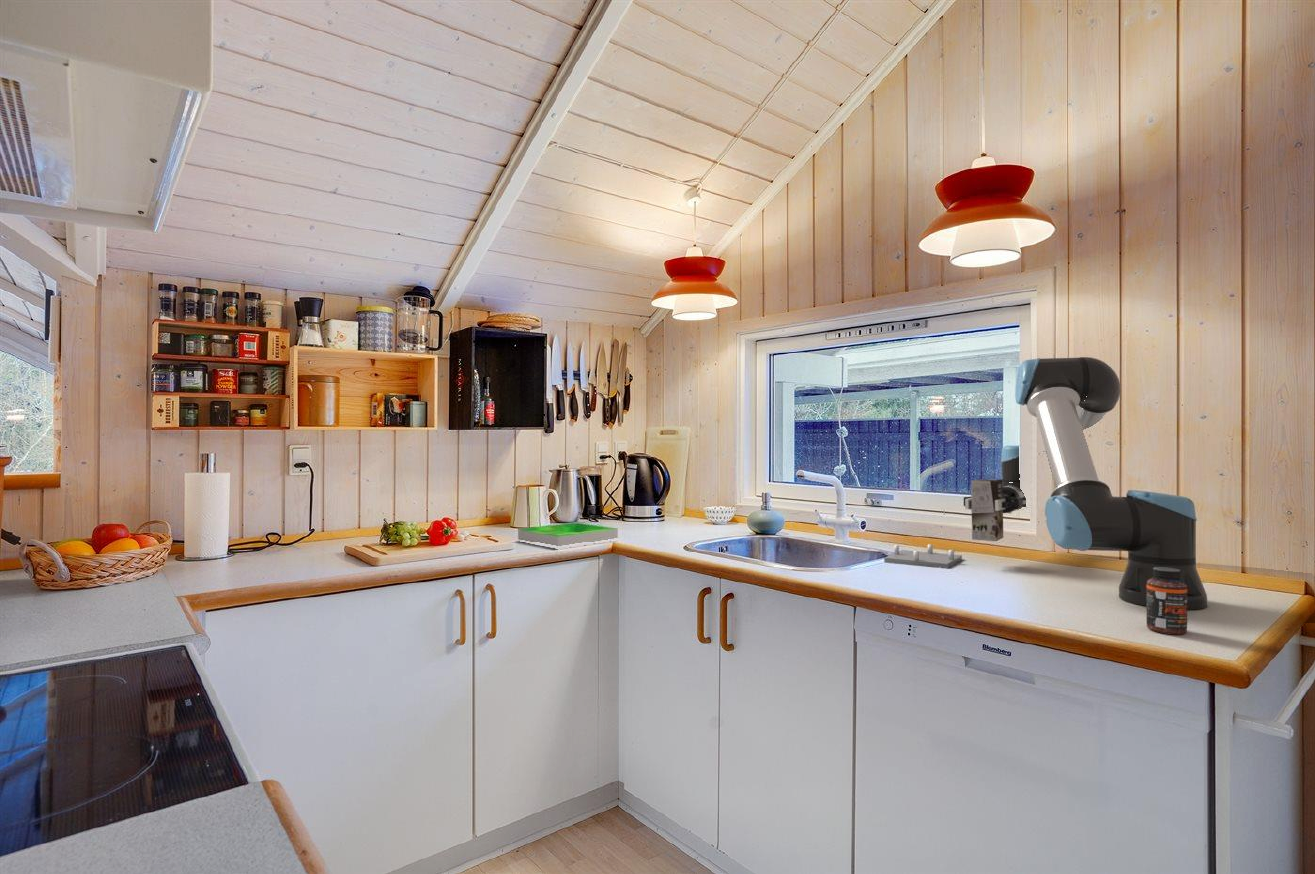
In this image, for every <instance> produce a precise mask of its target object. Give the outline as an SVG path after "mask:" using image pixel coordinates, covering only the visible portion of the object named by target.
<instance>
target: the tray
mask: <svg viewBox="0 0 1315 874" xmlns="http://www.w3.org/2000/svg"><path fill="white" fill-rule="evenodd" d="M618 533H619V531H618V527H612V526H611V527H610V526H603V525H597V524H590V523H583V522H568V523H561V524H552V525H543V526H533V527H526V528H519V529H517V540H518V539H519V540H525V541H530V542H540V543H545V544H551V545H556V546H562V545H569V544H575V543H582V542H595V541H601V540H608V539H614V538H618V539H619V534H618Z"/></svg>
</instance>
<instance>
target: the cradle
mask: <svg viewBox="0 0 1315 874" xmlns="http://www.w3.org/2000/svg"><path fill="white" fill-rule="evenodd" d="M933 549H934V547H933V544H931V543H928V544H927V551H920V550H909V549H908V550H906V549H901V550H900V545H899V544H895V545H893V553H892V554H889V555H888V556H885V557H884V563H889V564H890V563H891V564H900V565H911V566H922V567H929V568H930V567H931V568H939V567H941V569H949V568H950V566H951V567H952V566H954V565H955V564H957V563H959V562H960V561H962V560H963V555H962V554H955V550H954V549H948V553H943V552H941V553H940V552H933V551H934V550H933ZM961 559H962V560H961ZM959 560H960V561H959ZM958 561H959V562H958ZM956 562H957V563H956ZM953 564H954V565H953Z"/></svg>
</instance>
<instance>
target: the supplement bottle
mask: <svg viewBox="0 0 1315 874" xmlns="http://www.w3.org/2000/svg"><path fill="white" fill-rule="evenodd" d="M1180 577H1181V576H1180V570H1178V569H1174V568H1167V567H1154V568H1153V577H1152V578H1151V579H1149V580H1148V581H1147V606H1146V627H1147V629H1149V630H1151V631H1153V632H1155V633H1160V634H1163V635H1165V634H1166V635H1171V636H1172V635H1173V636H1174V635H1175V636H1178V635H1184V634H1186V633H1187V632H1188V621H1189V619H1188V610H1187V586H1186V584H1185V583H1184V582H1183V581H1182V580H1181V579H1180Z"/></svg>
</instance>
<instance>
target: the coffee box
mask: <svg viewBox="0 0 1315 874" xmlns="http://www.w3.org/2000/svg"><path fill="white" fill-rule="evenodd" d="M970 481H971V483H970V485H971V488H970V489H971V490H970V491H971V492H970V494H971V496H970V497H971V506H972V509H971V540H974V541H988V542H998V541H1000V540H1002V539H1004V513H1003V510H1000V511H995V500H999V499H1003V493H1002V478H1001V479H1000V478H998V479H996V478H991V479H988V478H987V479H985V478H984V479H980V478H977V479H973V480H970Z"/></svg>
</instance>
